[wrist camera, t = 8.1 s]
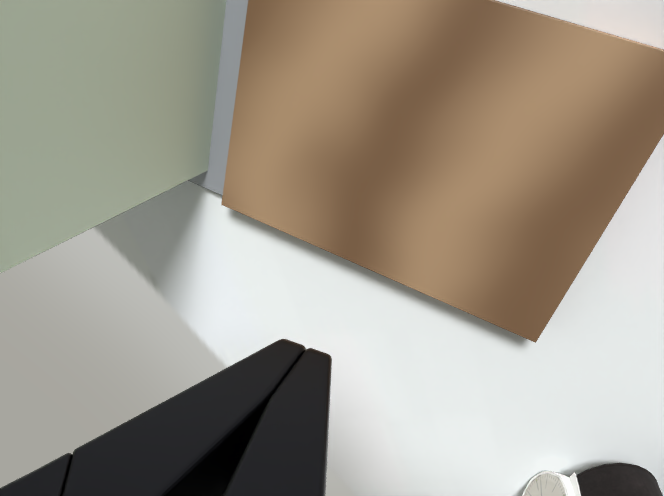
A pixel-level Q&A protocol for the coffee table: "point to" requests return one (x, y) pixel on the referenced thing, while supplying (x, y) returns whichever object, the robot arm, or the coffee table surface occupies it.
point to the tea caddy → (99, 111)
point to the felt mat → (225, 96)
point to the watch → (596, 482)
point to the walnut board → (442, 142)
